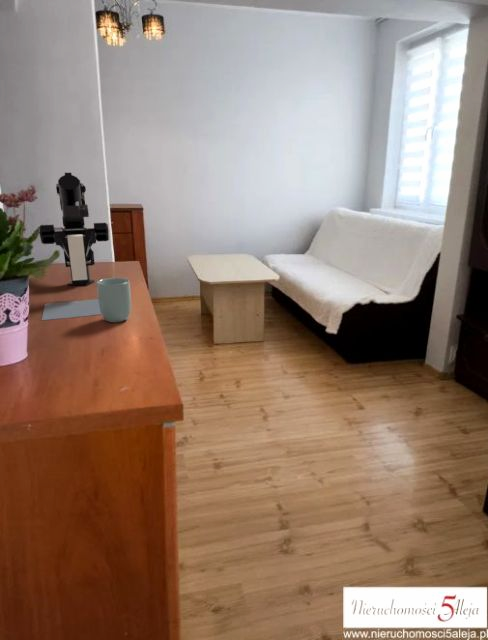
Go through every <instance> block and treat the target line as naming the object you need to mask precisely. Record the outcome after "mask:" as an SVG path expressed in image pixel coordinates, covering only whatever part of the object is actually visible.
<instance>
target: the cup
mask: <svg viewBox="0 0 488 640" xmlns="http://www.w3.org/2000/svg"><path fill="white" fill-rule="evenodd" d="M130 285H131V284H130V280H129V279H128V278H127V277H125V278H124V277H110V278H109V277H107V278H102V279H100V280H97V282H96V291H97V293H96V294H97V299H98V301H99V307H100V311H101V314H102V315H101V316H102V318H103V319H104V320H105V321H106V322H109V323H120V322H121V323H122V322H123V321H126V320H127V319H128V318H129V317H130V315H131V311H132V299H131V297H132V295H131V286H130Z"/></svg>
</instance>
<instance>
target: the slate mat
mask: <svg viewBox="0 0 488 640" xmlns="http://www.w3.org/2000/svg"><path fill="white" fill-rule="evenodd" d="M42 312H43V313H42V316H41V320H40V321H42V322H43V321H44V322H45V321H52V320H54V321H55V320H63V319H73V318H74V319H75V318H84V317H94V316H102V314H101V311H100V307H99V301H98V298H96V299H86V300H75V301H63V302H61V301H60V302H50V303H45V304H44V308H43V311H42Z"/></svg>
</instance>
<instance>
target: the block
mask: <svg viewBox="0 0 488 640" xmlns="http://www.w3.org/2000/svg"><path fill="white" fill-rule="evenodd" d="M67 238H68V246H69V254H70V263H71V270H72V279H73V281H74V280H87V271H86V262H85V253H84V244H83V235H82V234H80V235H68V236H67ZM71 270H70V271H71ZM72 279H71V280H72Z"/></svg>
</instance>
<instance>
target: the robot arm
mask: <svg viewBox="0 0 488 640" xmlns="http://www.w3.org/2000/svg"><path fill="white" fill-rule="evenodd" d="M57 182H58V183H56V185H55V189H56V193H57V196H59V204H60V205H59V206H60V210H61V211H62V226H61V227H60V226H59V227H56V226H54V224H41V225H40V226H38V229H39V228H40V232H39V231H38V233H39V238H40V242H41V244H43V245H52V244H55V246H60V248H61V249H62V250H63V256H64V262H65V268H69V269H70V278H71V282H69V283H67V286H82V287H83V286H84V287H85V286H88V285H90V284H93V283H94V282H95V279H91V274H90V268H89V267H90V266H91V267H92V266H94V265H95V264H96V263H95V253H94V250H93V249H92V248H91V247H92V246H93V245H94V244H97V242H107V241H109V240H110V237H109V235H110V233H109V232H110V231H109V224H108V223H107V222H94V223H93V227H92V228H89V227H88V228H87V227H85V218H89V217H90V216H89V215H90V213H89V207H88V206H89V205H88V204H86V198H85V193H86V190H87V189H86V186H85V185H84V183H81V179H79V178H78V177H77V176H75V175H73V174H72V172H64V175H61V177H59V178H58V181H57ZM80 234H82V235H83V244H84V253H85V262H86V271H87V280H74V281H73V279H72V270H71V262H70V254H69V246H68V238H67V236H68V235H80Z"/></svg>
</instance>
